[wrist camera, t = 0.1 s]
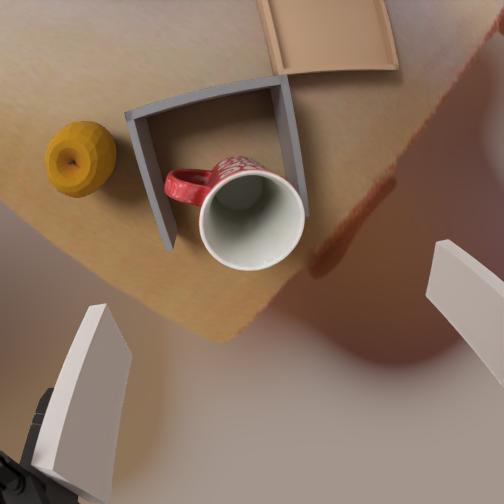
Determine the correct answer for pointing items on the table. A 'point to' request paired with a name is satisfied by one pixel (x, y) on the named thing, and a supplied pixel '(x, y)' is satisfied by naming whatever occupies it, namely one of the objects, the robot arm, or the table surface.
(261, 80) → the bay
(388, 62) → the tray
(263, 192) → the mug
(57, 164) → the apple
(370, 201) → the table surface
